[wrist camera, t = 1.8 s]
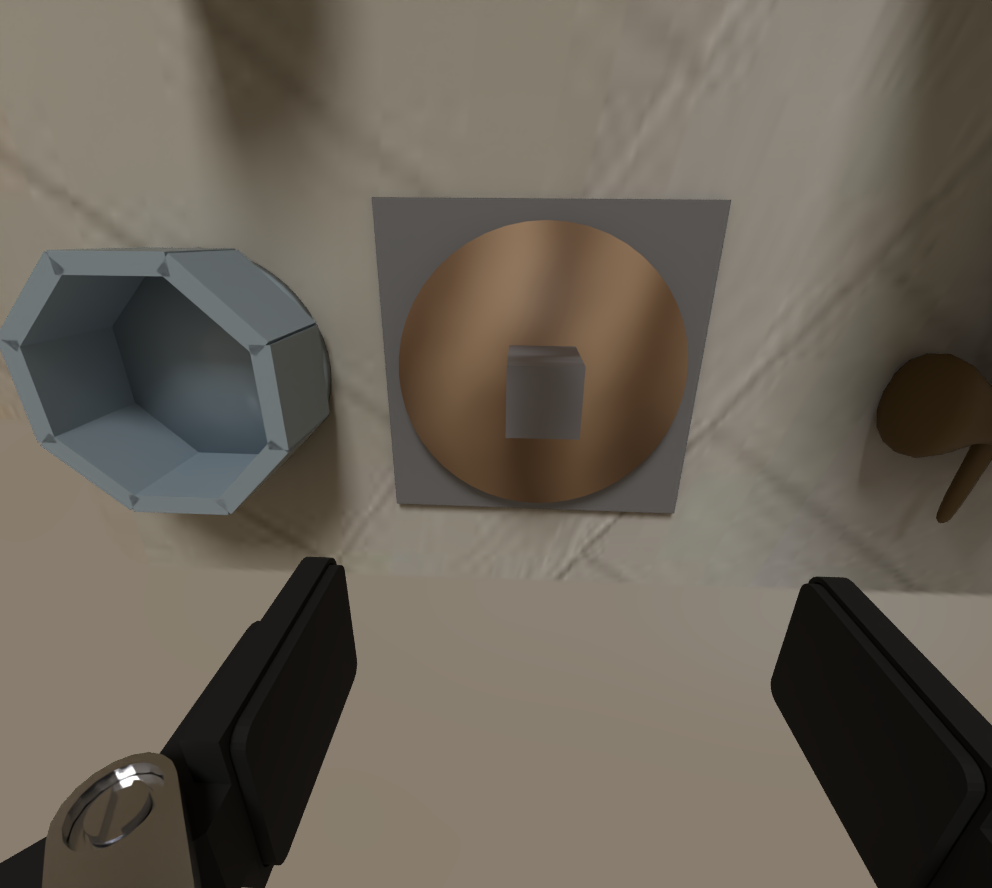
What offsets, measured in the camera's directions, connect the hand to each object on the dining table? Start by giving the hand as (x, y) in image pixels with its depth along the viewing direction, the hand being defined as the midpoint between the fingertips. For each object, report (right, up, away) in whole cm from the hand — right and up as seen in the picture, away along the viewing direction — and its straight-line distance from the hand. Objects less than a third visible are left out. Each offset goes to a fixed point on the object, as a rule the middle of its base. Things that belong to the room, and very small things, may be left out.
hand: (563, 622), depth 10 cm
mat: (+1, +8, +18) cm, 20 cm away
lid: (+1, +8, +18) cm, 19 cm away
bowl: (-18, +9, +19) cm, 27 cm away
